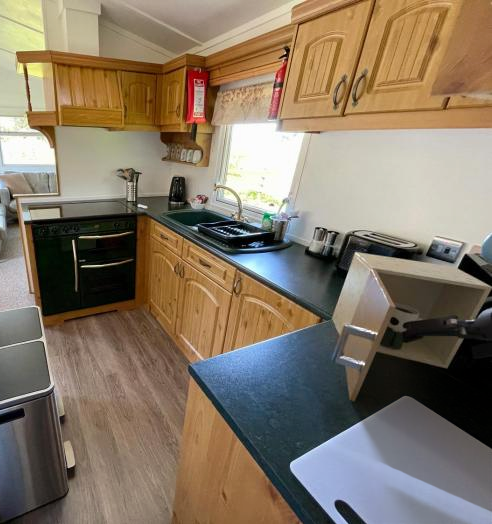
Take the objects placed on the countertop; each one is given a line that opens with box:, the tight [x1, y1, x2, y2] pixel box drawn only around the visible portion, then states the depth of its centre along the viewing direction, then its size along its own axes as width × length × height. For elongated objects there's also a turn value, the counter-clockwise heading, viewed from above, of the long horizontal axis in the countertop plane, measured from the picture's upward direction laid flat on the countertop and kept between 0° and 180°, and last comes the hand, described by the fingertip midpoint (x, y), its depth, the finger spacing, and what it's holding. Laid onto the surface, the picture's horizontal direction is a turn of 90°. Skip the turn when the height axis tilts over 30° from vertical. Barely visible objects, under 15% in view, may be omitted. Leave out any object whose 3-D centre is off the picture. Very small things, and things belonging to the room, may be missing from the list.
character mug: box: [380, 303, 424, 350], centre depth 88 cm, size 11×7×13 cm, turn 55°
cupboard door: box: [330, 269, 396, 402], centre depth 76 cm, size 7×26×26 cm, turn 150°
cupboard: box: [331, 251, 492, 369], centre depth 89 cm, size 16×26×26 cm, turn 70°
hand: (438, 344), depth 70 cm, fingers open, 13 cm apart
